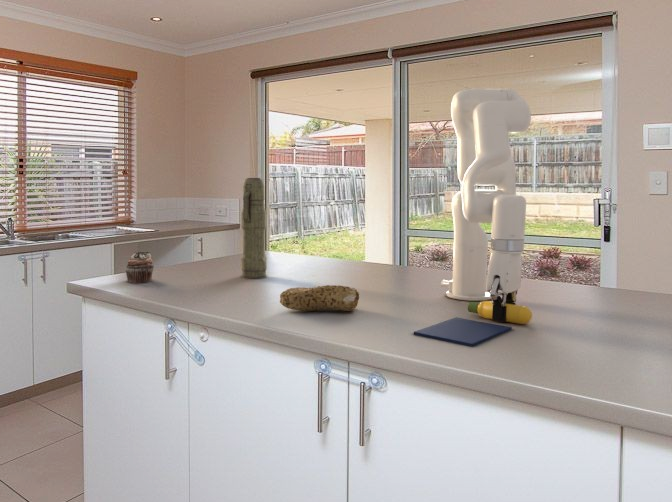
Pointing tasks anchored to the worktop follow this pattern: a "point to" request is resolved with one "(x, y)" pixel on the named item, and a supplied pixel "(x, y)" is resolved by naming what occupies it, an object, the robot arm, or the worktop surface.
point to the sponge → (320, 298)
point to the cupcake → (139, 268)
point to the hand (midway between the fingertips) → (503, 318)
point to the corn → (512, 312)
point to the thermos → (253, 229)
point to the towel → (463, 331)
